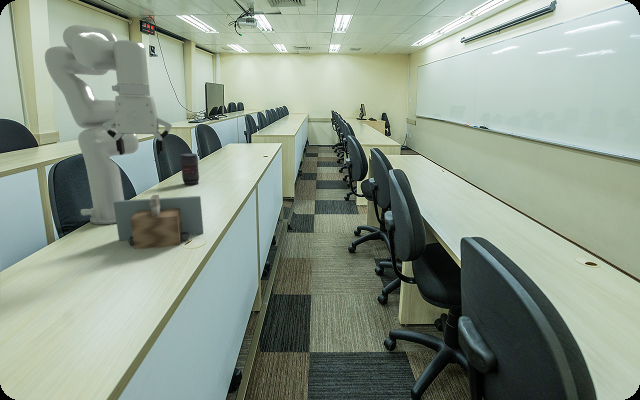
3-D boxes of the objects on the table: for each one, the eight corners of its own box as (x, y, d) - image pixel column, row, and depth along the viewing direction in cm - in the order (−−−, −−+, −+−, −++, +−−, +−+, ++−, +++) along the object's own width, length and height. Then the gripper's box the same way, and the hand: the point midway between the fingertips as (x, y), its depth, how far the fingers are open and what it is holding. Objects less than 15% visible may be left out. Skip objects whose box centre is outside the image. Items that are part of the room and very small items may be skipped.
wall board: (119, 240, 106) (113, 202, 102) (120, 238, 107) (114, 200, 104) (203, 233, 112) (200, 197, 108) (203, 231, 113) (200, 195, 110)
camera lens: (185, 186, 173) (182, 156, 169) (181, 183, 179) (178, 154, 175) (201, 184, 177) (199, 154, 173) (197, 181, 183) (194, 152, 179)
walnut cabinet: (134, 249, 100) (127, 202, 96) (140, 239, 107) (134, 194, 103) (180, 245, 103) (175, 199, 99) (182, 235, 110) (178, 192, 106)
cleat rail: (129, 246, 102) (128, 239, 101) (131, 243, 104) (130, 236, 103) (188, 240, 106) (187, 234, 105) (189, 238, 108) (188, 231, 107)
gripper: (93, 89, 89) (103, 156, 94) (167, 92, 94) (172, 156, 99) (102, 89, 96) (110, 152, 101) (170, 92, 101) (175, 151, 106)
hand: (141, 154), depth 100 cm, fingers open, 9 cm apart
